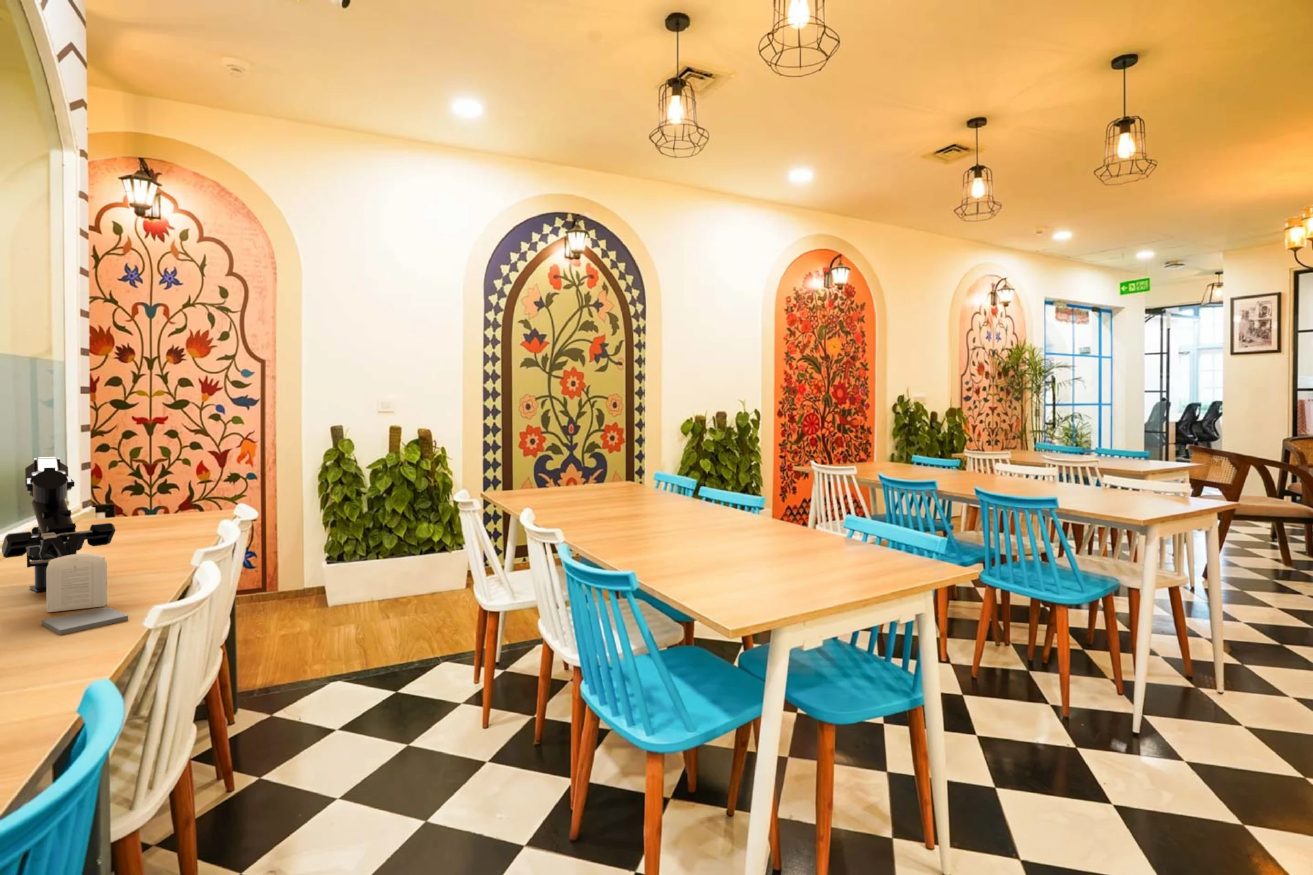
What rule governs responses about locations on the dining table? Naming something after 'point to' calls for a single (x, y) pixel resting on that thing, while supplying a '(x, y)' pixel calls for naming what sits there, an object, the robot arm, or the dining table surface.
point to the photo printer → (76, 582)
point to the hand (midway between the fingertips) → (70, 567)
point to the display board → (84, 620)
